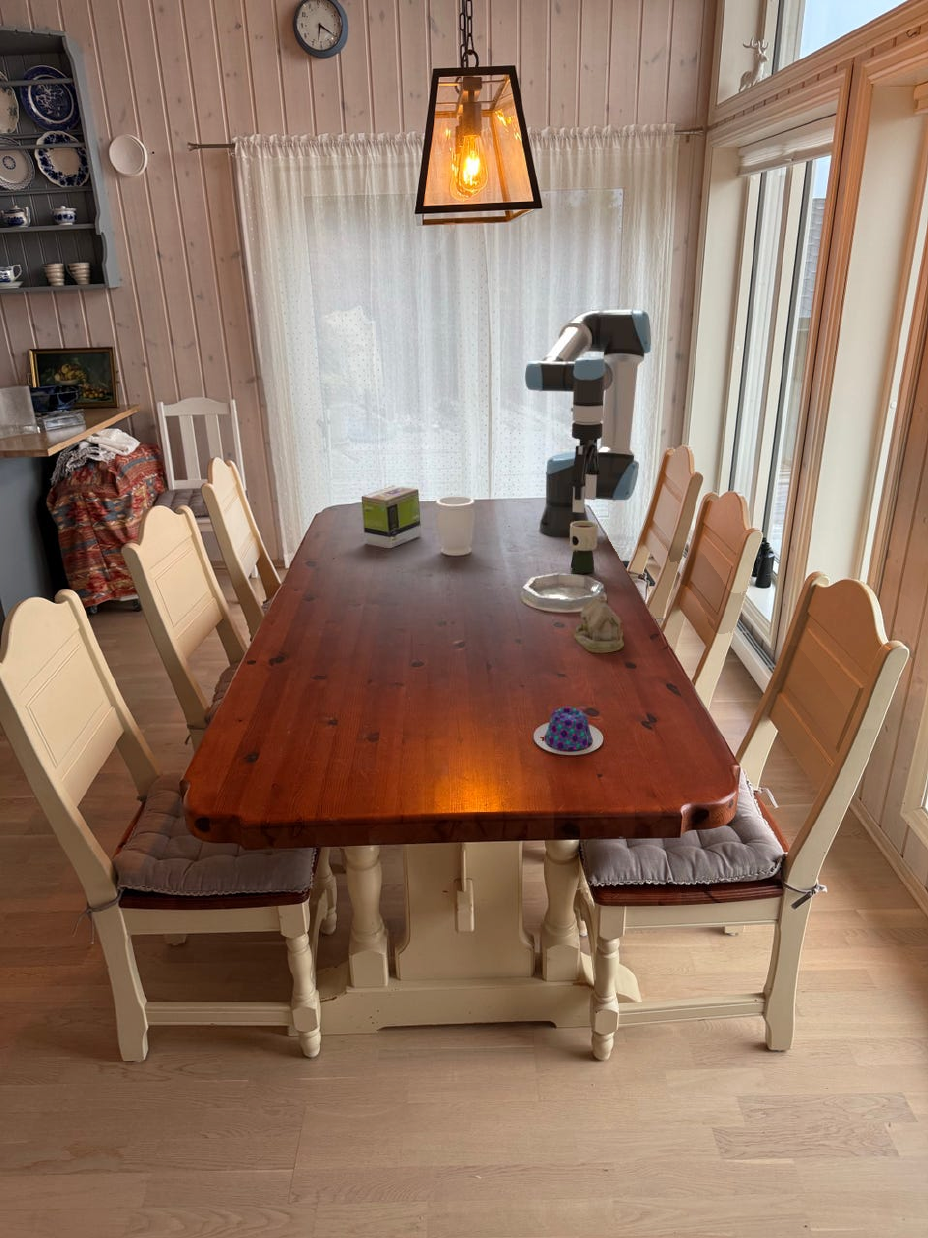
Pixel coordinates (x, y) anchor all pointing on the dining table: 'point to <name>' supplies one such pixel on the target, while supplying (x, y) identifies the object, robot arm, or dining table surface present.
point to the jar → (455, 524)
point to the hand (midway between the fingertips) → (584, 505)
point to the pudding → (568, 733)
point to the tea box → (391, 516)
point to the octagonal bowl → (561, 592)
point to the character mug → (583, 545)
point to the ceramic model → (599, 627)
